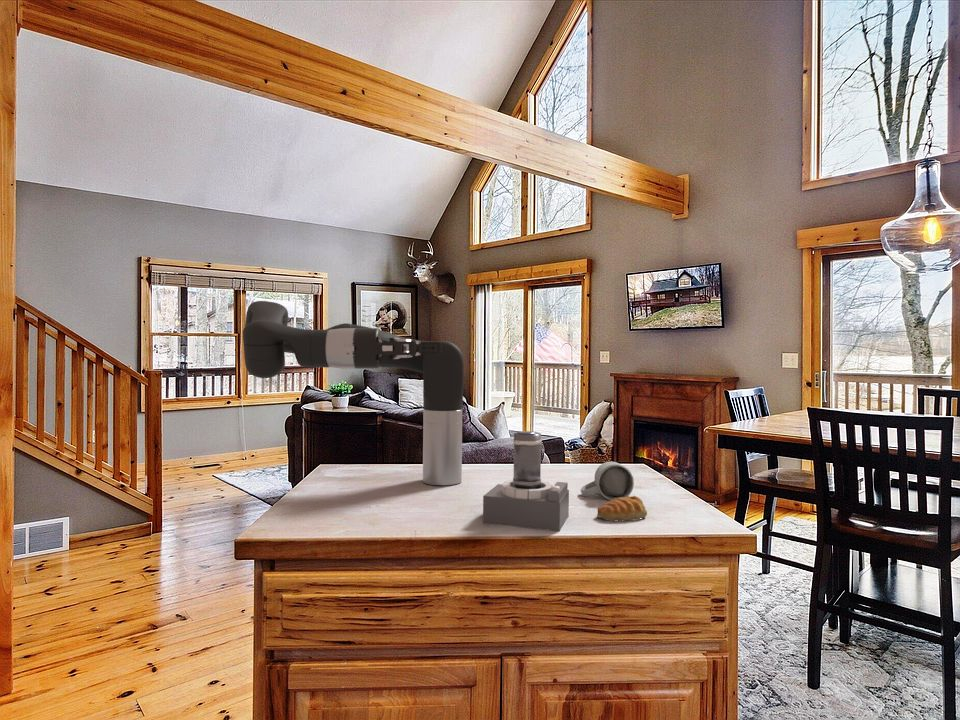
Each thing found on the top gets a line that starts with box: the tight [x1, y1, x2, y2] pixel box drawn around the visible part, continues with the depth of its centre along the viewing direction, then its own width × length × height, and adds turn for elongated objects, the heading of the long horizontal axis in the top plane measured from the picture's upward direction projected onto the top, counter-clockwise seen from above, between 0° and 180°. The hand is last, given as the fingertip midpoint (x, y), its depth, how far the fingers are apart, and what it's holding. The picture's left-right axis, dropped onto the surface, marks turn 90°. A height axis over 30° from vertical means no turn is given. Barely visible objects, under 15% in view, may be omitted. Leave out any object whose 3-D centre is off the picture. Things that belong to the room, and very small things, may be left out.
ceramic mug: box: [580, 461, 635, 501], centre depth 130 cm, size 11×8×8 cm
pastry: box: [596, 495, 648, 522], centre depth 114 cm, size 9×7×4 cm
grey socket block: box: [482, 479, 570, 532], centre depth 111 cm, size 10×14×7 cm
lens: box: [512, 430, 542, 489], centre depth 111 cm, size 5×5×11 cm
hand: (441, 348), depth 112 cm, fingers open, 8 cm apart
